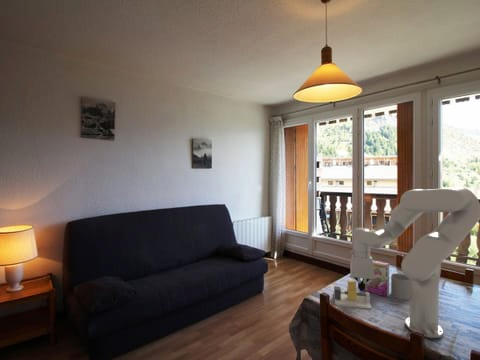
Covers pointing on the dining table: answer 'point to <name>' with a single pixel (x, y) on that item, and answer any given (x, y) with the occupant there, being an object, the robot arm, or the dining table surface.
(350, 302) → the shallow white tray
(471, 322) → the dining table surface
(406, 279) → the cup
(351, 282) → the yellow tall block
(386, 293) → the candy bar box
